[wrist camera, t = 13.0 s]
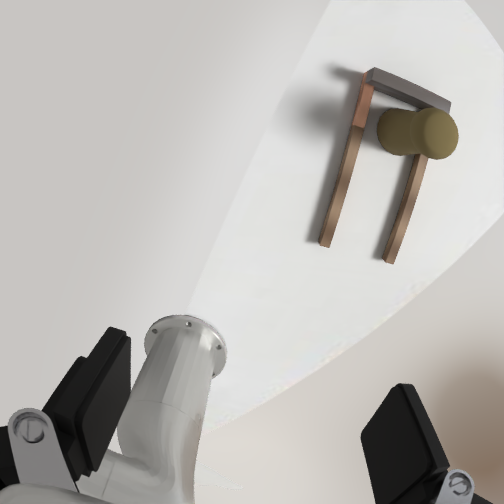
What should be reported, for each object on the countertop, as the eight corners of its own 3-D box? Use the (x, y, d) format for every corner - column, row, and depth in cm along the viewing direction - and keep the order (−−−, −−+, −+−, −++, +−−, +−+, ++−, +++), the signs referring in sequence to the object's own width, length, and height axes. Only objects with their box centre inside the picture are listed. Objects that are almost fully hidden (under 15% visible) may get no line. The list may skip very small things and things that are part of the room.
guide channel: (389, 260, 40) (400, 272, 37) (318, 241, 40) (323, 252, 36) (435, 103, 33) (451, 102, 29) (364, 73, 32) (374, 67, 28)
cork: (368, 136, 35) (405, 139, 25) (391, 98, 33) (434, 89, 23) (404, 165, 36) (449, 178, 26) (427, 128, 34) (476, 130, 24)
